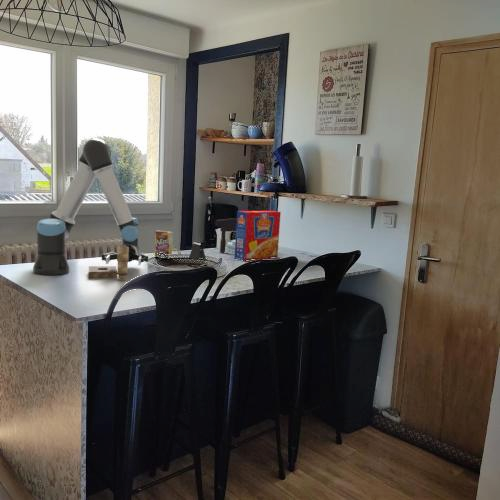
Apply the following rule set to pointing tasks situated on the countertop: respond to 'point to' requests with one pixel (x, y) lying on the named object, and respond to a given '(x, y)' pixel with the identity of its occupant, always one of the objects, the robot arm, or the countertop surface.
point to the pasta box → (257, 235)
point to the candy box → (163, 241)
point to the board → (102, 272)
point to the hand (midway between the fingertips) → (123, 261)
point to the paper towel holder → (225, 226)
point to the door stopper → (197, 251)
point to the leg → (122, 261)
